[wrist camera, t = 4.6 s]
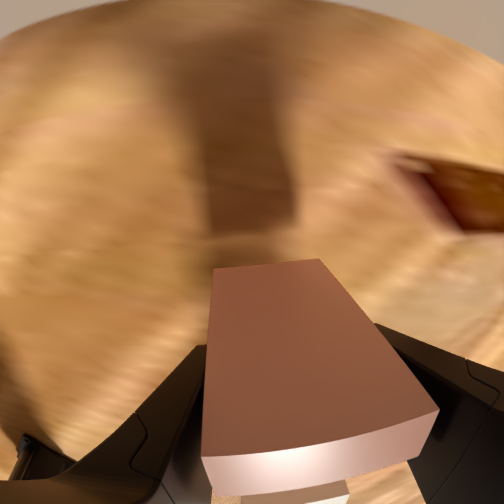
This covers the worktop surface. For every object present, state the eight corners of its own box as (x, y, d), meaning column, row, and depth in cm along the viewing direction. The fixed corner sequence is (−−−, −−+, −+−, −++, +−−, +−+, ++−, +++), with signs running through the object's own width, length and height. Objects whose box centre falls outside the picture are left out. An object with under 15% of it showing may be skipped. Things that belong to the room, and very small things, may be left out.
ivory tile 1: (305, 389, 18) (344, 507, 10) (235, 397, 18) (245, 523, 10) (306, 370, 18) (349, 493, 9) (233, 378, 18) (241, 511, 9)
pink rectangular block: (318, 293, 14) (418, 456, 5) (217, 303, 13) (215, 497, 5) (319, 258, 13) (439, 409, 5) (213, 268, 13) (200, 457, 4)
